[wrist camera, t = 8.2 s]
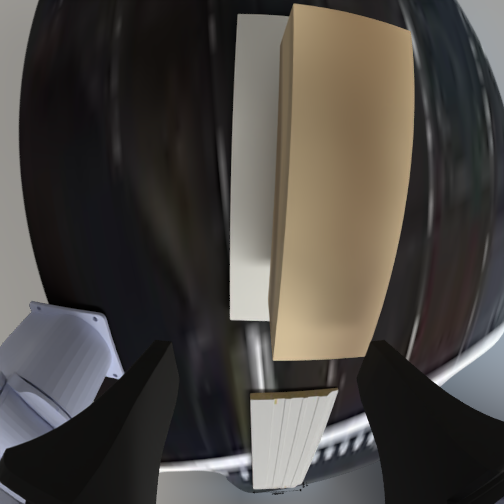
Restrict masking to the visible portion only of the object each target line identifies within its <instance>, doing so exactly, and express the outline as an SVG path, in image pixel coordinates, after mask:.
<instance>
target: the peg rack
mask: <svg viewBox="0 0 504 504" xmlns="http://www.w3.org/2000/svg"><path fill="white" fill-rule="evenodd" d="M288 19H289V17H288V16H276V15H259V14H238V19H237V36H236V55H235V75H234V99H233V126H232V161H231V212H230V320H252V321H270V320H269V308H268V291H269V276H270V261H271V245H272V228H273V211H274V192H275V172H276V150H277V126H278V98H279V64H280V44H281V41H282V38H283V35H284V32H285V28H286V25H287V22H288Z"/></svg>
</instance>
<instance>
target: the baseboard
mask: <svg viewBox="0 0 504 504" xmlns="http://www.w3.org/2000/svg"><path fill="white" fill-rule="evenodd" d="M337 392H338V388H330V389H321V390H309V391H295V392H274V393H250V410H251V441H252V470H253V489H266V488H272V489H275V488H288V487H290V488H293V487H295V486H297V485H299V484H301V483H302V481H303V479H304V477H305V475H306V473H307V470H308V468H309V466H310V464H311V461H312V459H313V457H314V454H315V452H316V450H317V447H318V445H319V442H320V440H321V437H322V435H323V432H324V429H325V427H326V424H327V421H328V419H329V416H330V413H331V410H332V407H333V404H334V401H335V398H336V395H337ZM302 484H304V482H303V483H302ZM306 484H307V482H306ZM306 486H308V485H306ZM303 488H304V485H303ZM300 491H301V489H300ZM253 493H255V491H254V492H253ZM274 494H275V495H276V494H281V493H274ZM282 494H283V493H282Z"/></svg>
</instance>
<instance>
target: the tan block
mask: <svg viewBox="0 0 504 504" xmlns="http://www.w3.org/2000/svg"><path fill="white" fill-rule="evenodd" d="M413 126H414V67H413V51H412V40H411V32H410V31H408V30H405V29H402V28H399V27H397V26H394V25H391V24H388V23H384V22H381V21H378V20H374V19H371V18H367V17H363V16H360V15H355V14H351V13H347V12H342V11H338V10H332V9H327V8H321V7H315V6H308V5H301V4H293V7H292V10H291V13H290V16H289V19H288V22H287V25H286V28H285V32H284V35H283V38H282V41H281V44H280V64H279V98H278V126H277V150H276V172H275V192H274V211H273V228H272V245H271V261H270V276H269V291H268V308H269V320H270V331H271V343H272V356H273V361H282V360H319V359H337V358H351V357H363V356H365V355H366V352H367V349H368V347H369V344H370V342H371V339H372V336H373V333H374V330H375V327H376V324H377V321H378V318H379V315H380V312H381V308H382V305H383V302H384V298H385V295H386V291H387V288H388V284H389V280H390V276H391V272H392V268H393V264H394V260H395V256H396V251H397V247H398V242H399V237H400V232H401V227H402V222H403V216H404V210H405V204H406V198H407V191H408V183H409V175H410V166H411V156H412V143H413Z"/></svg>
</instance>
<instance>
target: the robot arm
mask: <svg viewBox="0 0 504 504" xmlns="http://www.w3.org/2000/svg"><path fill="white" fill-rule="evenodd" d="M29 306H30V309H31V311H32V312H31V313H30V314H29V315H28V316H27V317H26V318H25V319H24V320H23V321H22V322H21V323H20V325H19V326H18V327H17V328H16V329H15V330H14V331H13V332H12V333H11V334H10V336H9V337H8V338H7V339H6V340H5V341H4V343H3V344H2V345H1V347H0V504H156V495H157V485H158V476H159V468H160V461H161V456H162V451H163V447H164V444H165V440H166V436H167V433H168V429H169V426H170V422H171V419H172V415H173V411H174V408H175V404H176V399H177V393H178V386H179V375H178V371H177V366H176V361H175V356H174V351H173V346H172V342H169V341H159V340H155V341H154V342H153V343H152V344H151V345H150V346H149V348H148V349H147V350H146V351H145V352H144V353H143V354H142V355H141V356H140V358H139V359H138V360H137V361H136V362H135V363H134V364H133V365H132V366H131V367H130V368H129V369H128V370H127V371H126V372H125V373H124V371H123V368H122V365H121V362H120V360H119V357H118V354H117V351H116V348H115V345H114V342H113V339H112V336H111V332H110V329H109V326H108V322H107V319H106V317H105V315H104V314H102V313H99V312H92V311H86V310H79V309H73V308H67V307H61V306H56V305H50V304H45V303H39V302H34V301H32V302H30V304H29ZM95 317H96V318H97V319H96V318H95ZM105 376H107V377H112V378H116V379H119V380H118V381H117V382H116V383H114V384H113V385H112V386H111V387H110V388H109V389H108V390H107V391H106V392H105V393H104V394H103V395H102V396H100V397H99V398H98V399H97V400H96V401H94V402H93V400H94V398H95V396H96V394H97V392H98V390H99V388H100V386H101V384H102V382H103V380H104V378H105ZM357 383H358V388H359V393H360V397H361V401H362V404H363V407H364V410H365V413H366V416H367V419H368V421H369V424H370V427H371V430H372V433H373V436H374V439H375V442H376V445H377V448H378V452H379V457H380V462H381V468H382V474H383V482H384V491H385V504H504V422H503V421H501V420H498V419H495V418H492V417H490V416H488V415H486V414H483V413H481V412H479V411H477V410H475V409H473V408H471V407H470V406H468V405H466V404H464V403H463V402H461V401H460V400H458V399H456V398H455V397H453V396H452V395H450V394H449V393H447V392H446V391H445V390H443V389H442V388H441V387H439V386H438V385H437V384H435V383H434V382H433V381H431V380H430V379H429V378H428V377H427V376H425V375H424V374H423V373H422V372H421V371H419V370H418V369H417V368H416V367H415V366H414V365H412V364H411V363H410V362H409V361H408V360H407V359H406V358H405V357H403V356H402V355H401V354H400V353H399V352H398V351H397V350H395V349H394V348H393V347H392V346H391V345H390V344H388V343H387V342H386V341H385V340H381V341H371V342H370V344H369V347H368V349H367V352H366V355H365V358H364V360H363V363H362V366H361V368H360V371H359V373H358V376H357Z"/></svg>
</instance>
